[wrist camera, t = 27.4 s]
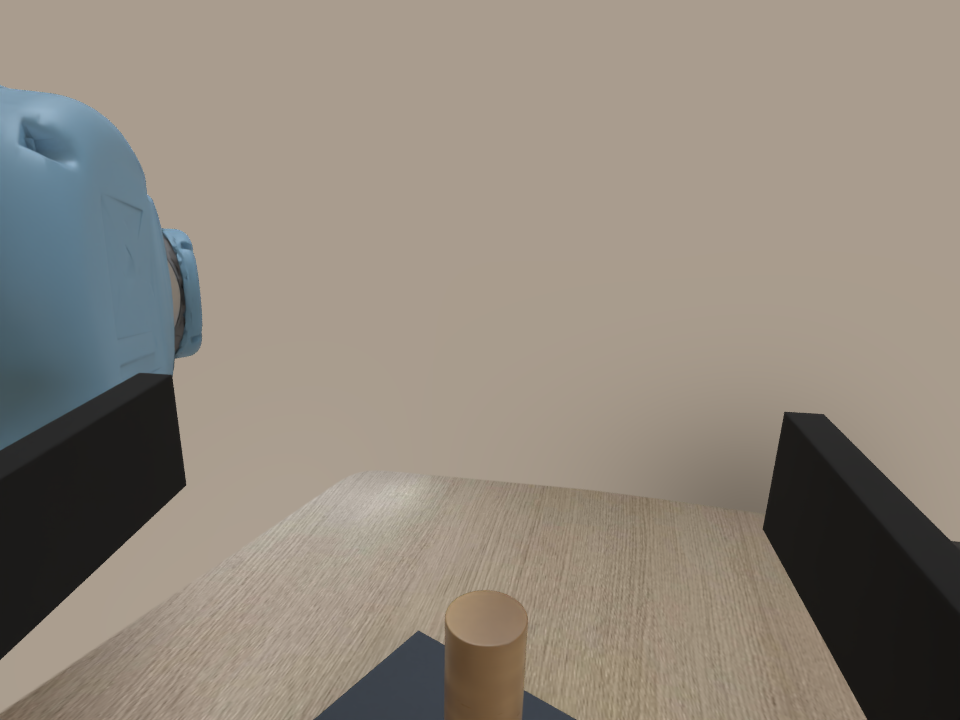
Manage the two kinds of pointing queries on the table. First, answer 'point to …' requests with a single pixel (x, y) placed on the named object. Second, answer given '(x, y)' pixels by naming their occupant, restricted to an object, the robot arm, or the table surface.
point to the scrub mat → (413, 689)
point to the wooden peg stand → (484, 657)
